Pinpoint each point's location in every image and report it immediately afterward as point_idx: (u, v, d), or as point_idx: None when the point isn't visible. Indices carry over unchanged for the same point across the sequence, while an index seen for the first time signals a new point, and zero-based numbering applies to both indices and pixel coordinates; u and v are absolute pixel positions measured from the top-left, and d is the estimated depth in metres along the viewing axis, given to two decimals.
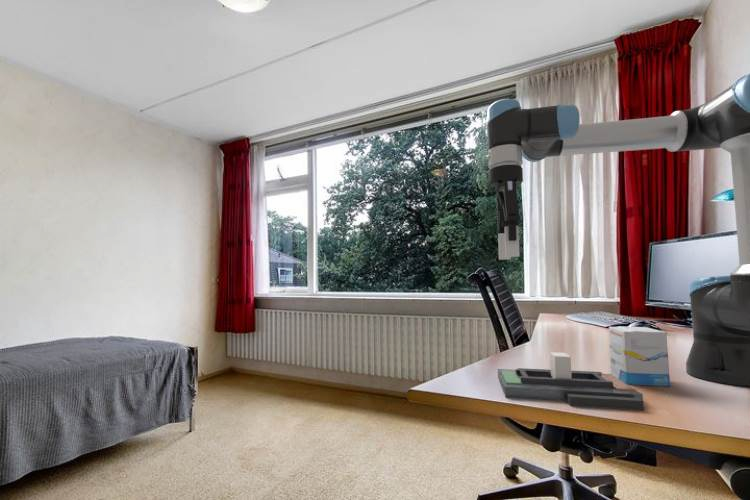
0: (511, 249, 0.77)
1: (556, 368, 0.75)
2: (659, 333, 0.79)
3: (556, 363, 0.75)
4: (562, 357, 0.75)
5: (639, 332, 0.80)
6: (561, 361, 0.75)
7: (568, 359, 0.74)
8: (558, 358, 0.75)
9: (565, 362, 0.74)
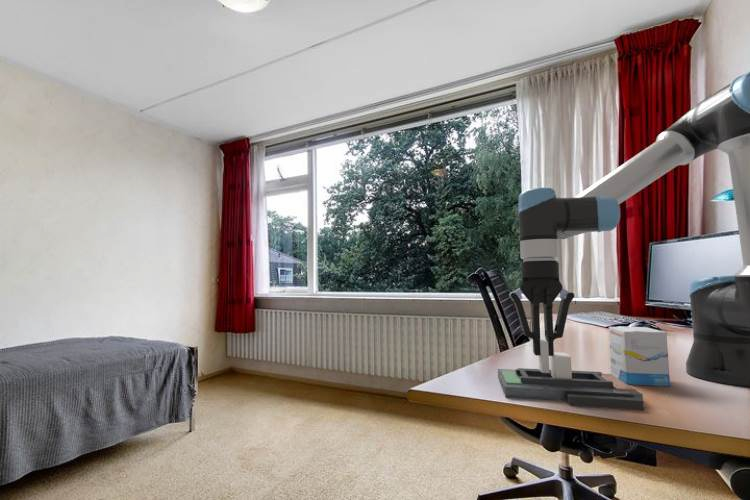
0: (539, 363, 0.77)
1: (556, 368, 0.75)
2: (659, 333, 0.79)
3: (556, 363, 0.75)
4: (562, 357, 0.75)
5: (639, 332, 0.80)
6: (561, 361, 0.75)
7: (568, 359, 0.74)
8: (559, 358, 0.75)
9: (565, 362, 0.74)
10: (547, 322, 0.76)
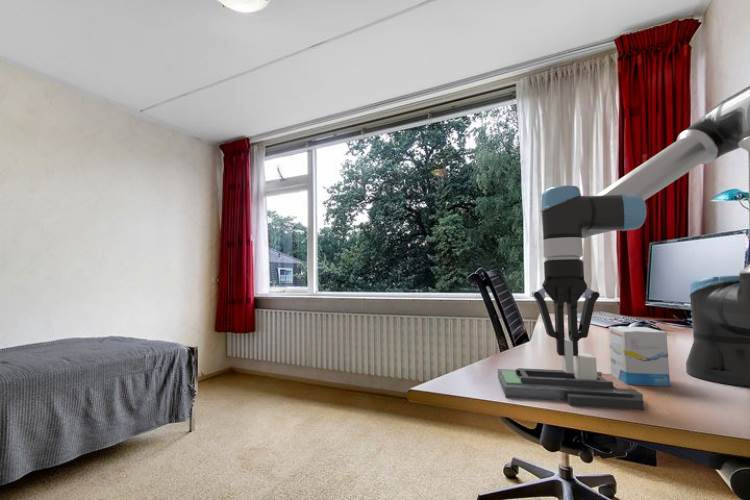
0: (563, 363, 0.76)
1: (581, 369, 0.74)
2: (659, 333, 0.79)
3: (581, 364, 0.74)
4: (587, 358, 0.74)
5: (639, 332, 0.80)
6: (586, 362, 0.73)
7: (593, 360, 0.73)
8: (583, 359, 0.74)
9: (590, 363, 0.73)
10: (571, 322, 0.75)
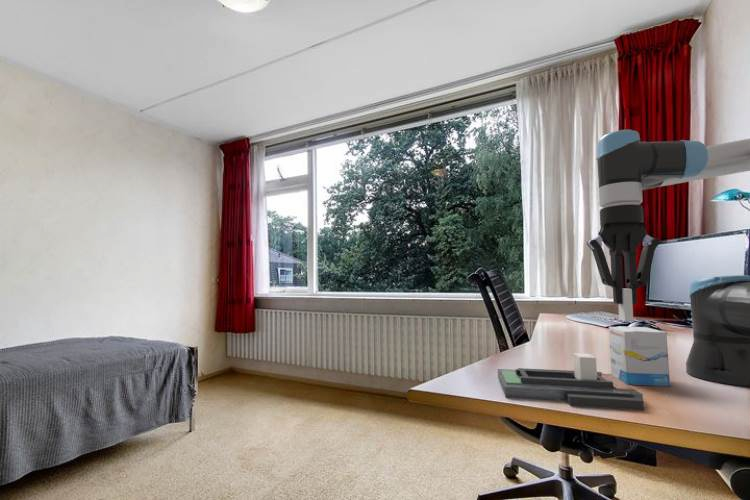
0: (621, 312, 0.75)
1: (581, 369, 0.74)
2: (659, 333, 0.79)
3: (581, 364, 0.74)
4: (587, 358, 0.74)
5: (639, 332, 0.80)
6: (586, 362, 0.73)
7: (593, 360, 0.73)
8: (583, 359, 0.74)
9: (590, 363, 0.73)
10: (630, 269, 0.74)
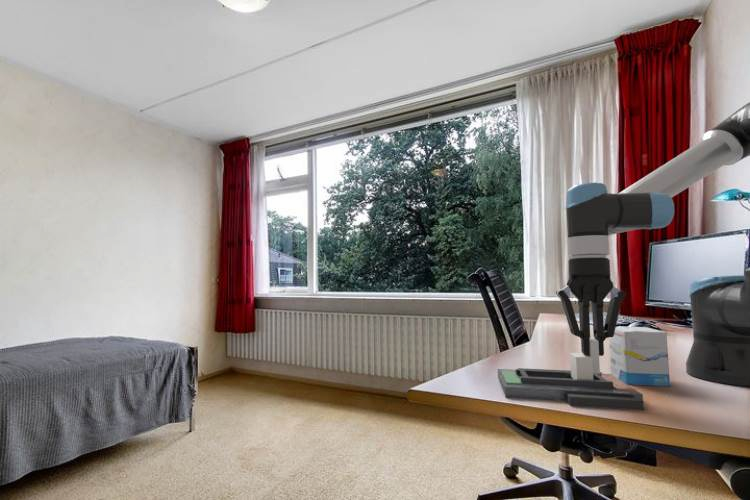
0: None
1: (577, 369, 0.74)
2: (659, 333, 0.79)
3: (577, 364, 0.74)
4: (583, 358, 0.74)
5: (639, 332, 0.80)
6: (582, 362, 0.74)
7: (590, 360, 0.73)
8: (580, 359, 0.74)
9: (586, 363, 0.73)
10: (597, 321, 0.74)
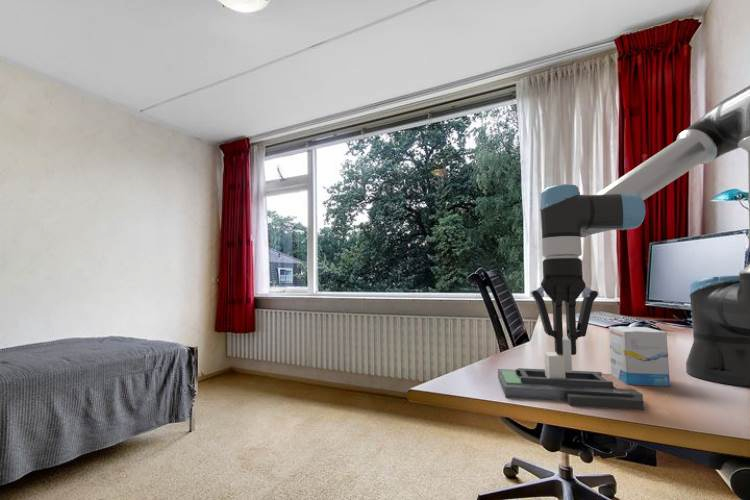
0: None
1: (550, 368, 0.75)
2: (659, 333, 0.79)
3: (550, 363, 0.75)
4: (556, 357, 0.75)
5: (639, 332, 0.80)
6: (555, 361, 0.75)
7: (562, 359, 0.75)
8: (552, 358, 0.75)
9: (559, 362, 0.75)
10: (570, 320, 0.75)
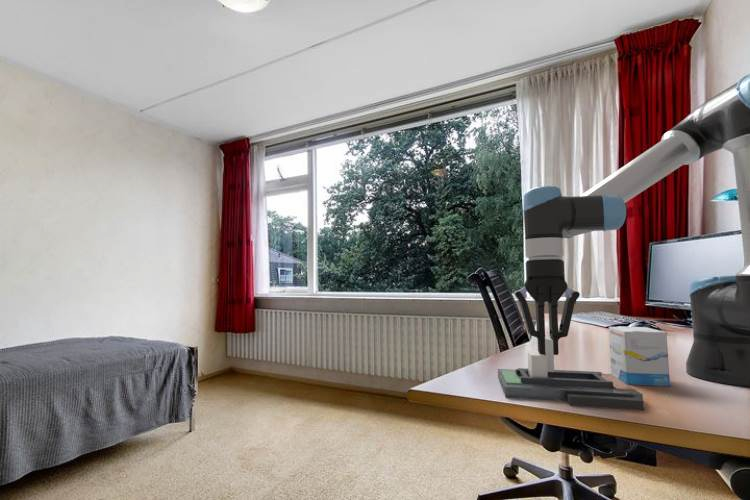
0: None
1: (532, 367, 0.76)
2: (659, 333, 0.79)
3: (532, 362, 0.76)
4: (538, 356, 0.76)
5: (639, 332, 0.80)
6: (537, 360, 0.76)
7: (544, 358, 0.75)
8: (535, 357, 0.76)
9: (541, 361, 0.75)
10: (552, 321, 0.76)
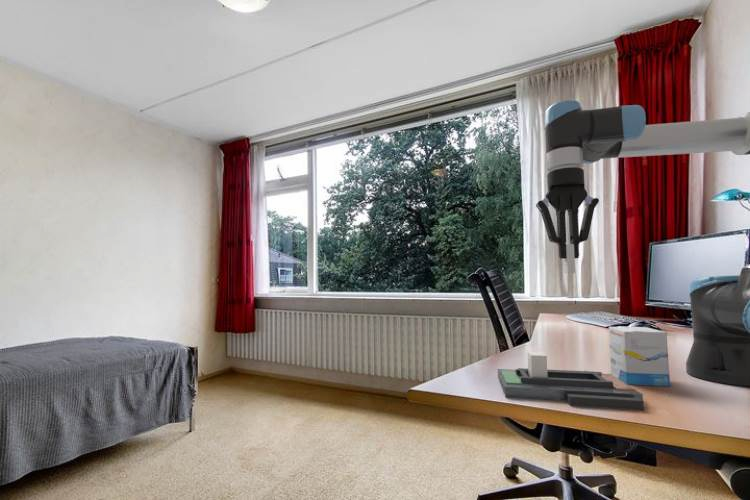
0: (565, 266, 0.82)
1: (532, 367, 0.76)
2: (659, 333, 0.79)
3: (532, 362, 0.76)
4: (538, 356, 0.76)
5: (639, 332, 0.80)
6: (537, 360, 0.76)
7: (544, 358, 0.75)
8: (535, 357, 0.76)
9: (541, 361, 0.75)
10: (573, 226, 0.81)
